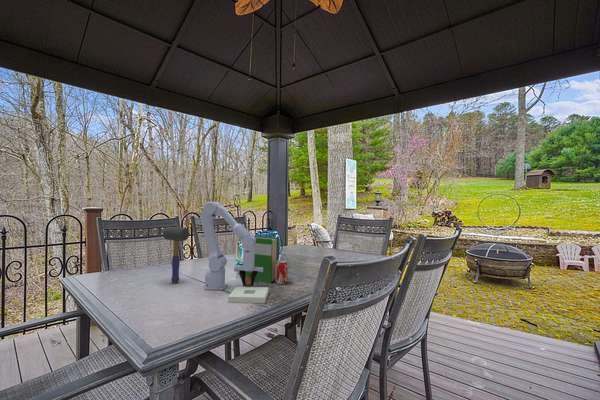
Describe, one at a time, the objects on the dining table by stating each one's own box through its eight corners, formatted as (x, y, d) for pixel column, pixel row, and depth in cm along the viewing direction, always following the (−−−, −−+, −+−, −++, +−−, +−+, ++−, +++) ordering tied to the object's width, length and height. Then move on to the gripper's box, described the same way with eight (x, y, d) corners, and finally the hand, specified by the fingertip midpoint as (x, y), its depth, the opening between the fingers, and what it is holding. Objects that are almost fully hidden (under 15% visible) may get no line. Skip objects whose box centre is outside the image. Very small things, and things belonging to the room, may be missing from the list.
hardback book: (277, 280, 156) (278, 237, 156) (270, 283, 150) (271, 239, 150) (252, 275, 164) (253, 235, 164) (244, 279, 158) (245, 236, 158)
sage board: (228, 302, 121) (228, 296, 121) (236, 291, 135) (236, 286, 135) (264, 303, 121) (264, 297, 121) (268, 292, 135) (268, 287, 135)
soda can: (283, 285, 146) (283, 263, 146) (272, 283, 150) (272, 261, 150) (290, 282, 152) (290, 260, 152) (280, 280, 156) (280, 259, 156)
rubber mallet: (160, 283, 147) (161, 226, 147) (171, 279, 154) (172, 225, 154) (179, 285, 143) (180, 227, 143) (189, 281, 150) (190, 226, 150)
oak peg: (243, 290, 138) (244, 276, 138) (245, 287, 142) (245, 274, 142) (251, 290, 138) (251, 276, 138) (252, 287, 142) (252, 274, 142)
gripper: (232, 260, 136) (232, 287, 136) (261, 260, 136) (261, 288, 136) (236, 257, 143) (235, 283, 143) (263, 257, 143) (263, 284, 143)
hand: (248, 285), depth 140 cm, fingers closed on oak peg, 4 cm apart
